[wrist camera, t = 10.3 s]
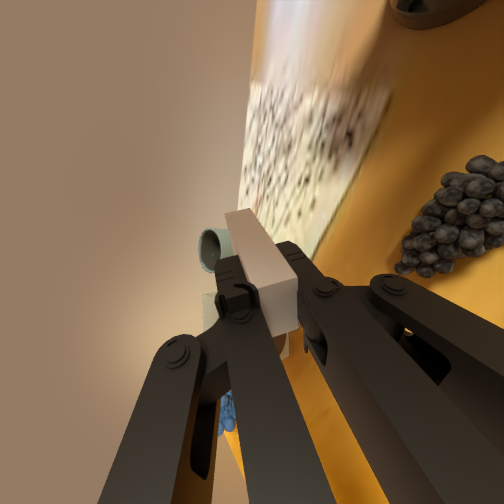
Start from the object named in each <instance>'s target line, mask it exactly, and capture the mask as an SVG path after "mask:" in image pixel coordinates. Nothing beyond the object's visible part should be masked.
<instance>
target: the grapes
mask: <svg viewBox="0 0 504 504" xmlns="http://www.w3.org/2000/svg"><path fill="white" fill-rule="evenodd" d="M235 420H236V415H235V409H234V403H233V396H232V390H231V391H230V392H227V393H226V394H225V395H224V396H222V397H221V407H220V418H219V428H218V436H220V435H222V433H223V432H224V428H225V430H226V431H227V432H231V431H233V430H234V428H235V425H236V422H235Z"/></svg>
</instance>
